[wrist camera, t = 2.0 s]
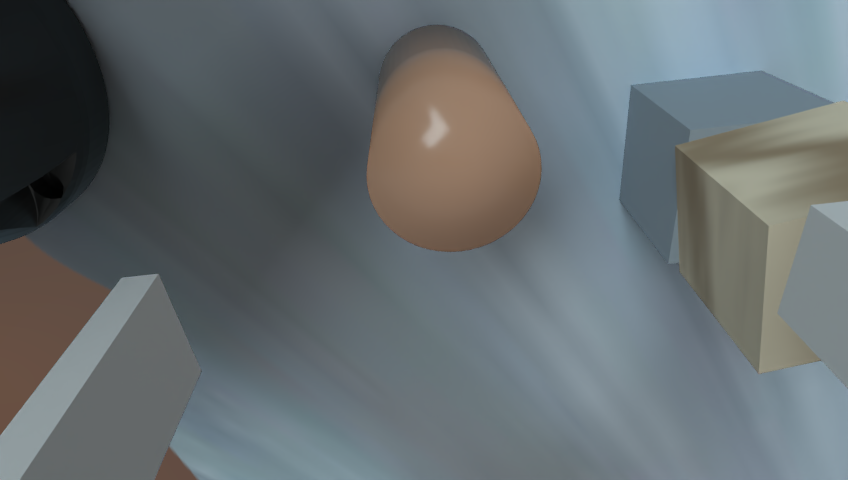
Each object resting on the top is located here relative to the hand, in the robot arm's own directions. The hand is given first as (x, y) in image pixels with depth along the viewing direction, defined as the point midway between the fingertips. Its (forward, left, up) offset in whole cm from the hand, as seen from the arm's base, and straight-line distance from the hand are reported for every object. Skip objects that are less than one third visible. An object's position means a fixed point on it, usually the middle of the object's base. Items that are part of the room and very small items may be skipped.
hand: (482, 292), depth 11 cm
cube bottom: (+12, -4, -16) cm, 20 cm away
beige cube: (+12, -4, -10) cm, 16 cm away
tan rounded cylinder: (0, 0, -16) cm, 16 cm away
